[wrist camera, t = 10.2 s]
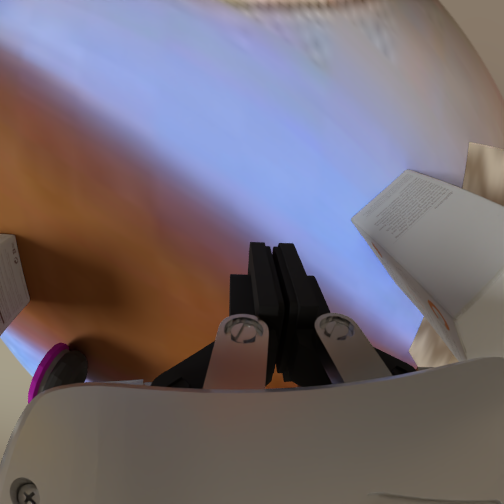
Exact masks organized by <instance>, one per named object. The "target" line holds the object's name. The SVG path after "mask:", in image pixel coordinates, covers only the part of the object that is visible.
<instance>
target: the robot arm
mask: <svg viewBox="0 0 504 504" xmlns="http://www.w3.org/2000/svg"><path fill="white" fill-rule="evenodd" d="M275 364H276V368H277V372H278V373H283V379H284V382H289V381H292V382H294V383H296V384H297V385H298V386H297V388H278V389H265V386H266V385H267V384H268V383H270V382H271V380H272V375H273V373H274V369H275ZM0 504H504V357H480V358H473V359H469V360H465V361H460V362H456V363H452V364H447V365H443V366H439V367H417V369H416V370H415V369H414V368H413V367H412V366H410V365H409V364H407V363H405V362H403V361H401V360H399V359H397V358H395V357H393V356H391V355H389V354H387V353H385V352H383V351H381V350H379V349H377V348H374V347H373V346H372V345H371V343H370V342H369V340H368V339H367V337H366V336H365V335H364V333H363V332H362V330H361V329H360V328H359V326H358V325H357V324H356V323H355V321H354V320H352V319H351V318H349V317H348V316H345V315H342V314H338V313H330V310H329V308H328V306H327V303H326V301H325V299H324V297H323V294H322V292H321V290H320V287H319V285H318V283H317V281H316V278H315V277H314V276H307V275H306V272H305V270H304V268H303V265H302V263H301V260H300V258H299V256H298V253H297V251H296V248H295V246H294V244H292V243H279V245H278V247H273V254H272V253H271V249H270V246H265V243H260V242H250V249H249V264H248V275H237V274H230V305H229V317H227V318H225V319H224V320H223V321H222V322H221V324H220V326H219V328H218V332H217V336H216V340H215V341H214V342H212V343H211V344H209V345H208V346H206V347H205V348H203V349H201V350H200V351H198V352H197V353H195V354H193V355H192V356H190V357H189V358H187V359H185V360H184V361H182V362H181V363H179V364H177V365H176V366H174V367H172V368H171V369H169V370H168V371H166V372H164V373H163V374H161V375H159V376H158V377H157V378H156V379H154V381H153V382H148V383H144V381H143V379H141V380H128V381H110V382H86V383H75V384H69V385H62V386H58V387H54V388H51V389H48V390H45V391H43V392H41V393H40V394H38V395H37V396H36V397H34V398H33V399H32V400H31V401H30V403H29V404H28V405H27V406H26V408H25V409H24V411H23V412H22V415H21V416H20V418H19V420H18V421H17V423H16V426H15V428H14V430H13V432H12V434H11V436H10V439H9V441H8V444H7V447H6V450H5V452H4V455H3V458H2V461H1V464H0Z"/></svg>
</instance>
